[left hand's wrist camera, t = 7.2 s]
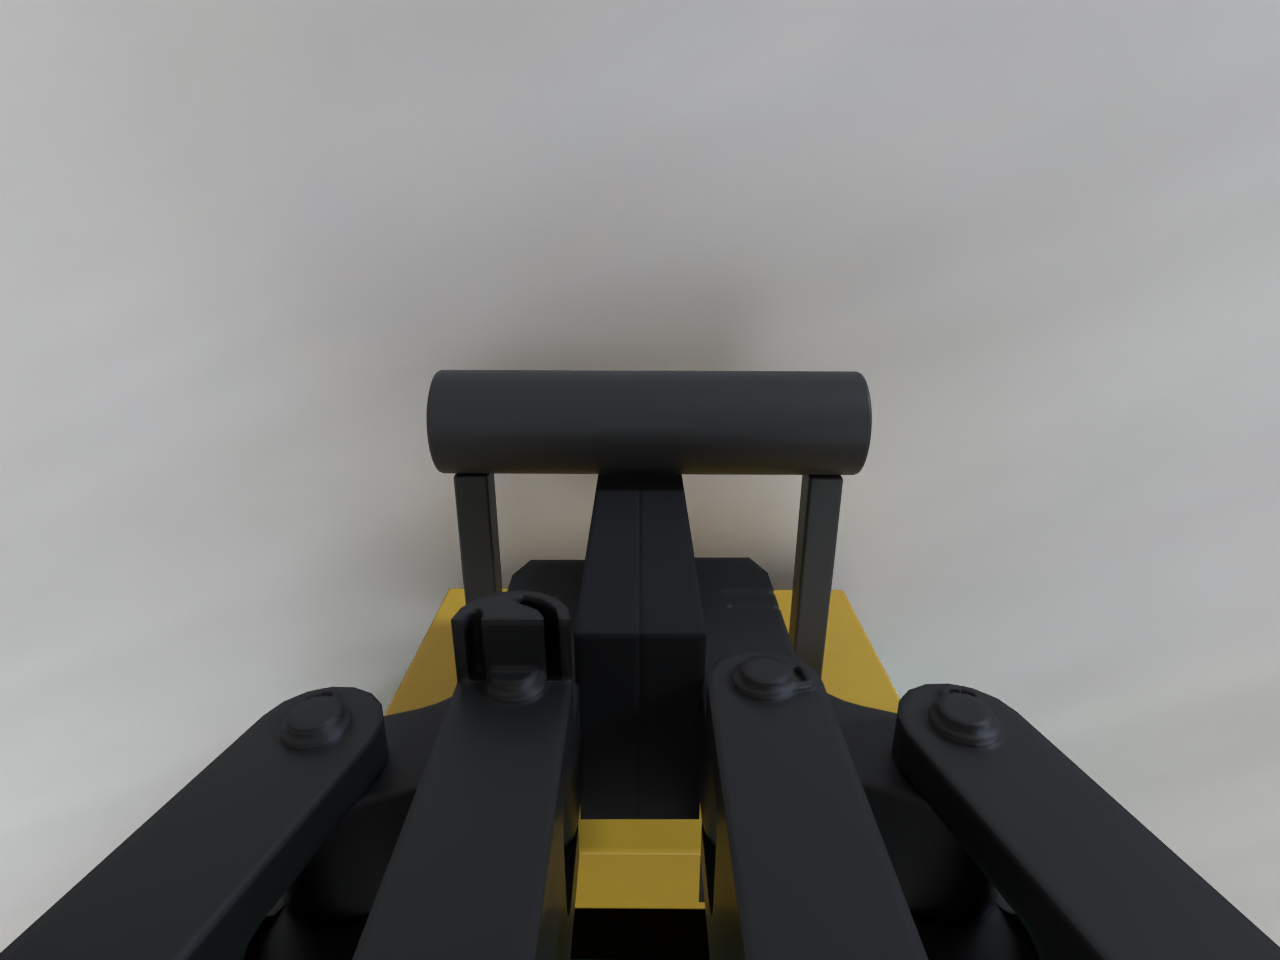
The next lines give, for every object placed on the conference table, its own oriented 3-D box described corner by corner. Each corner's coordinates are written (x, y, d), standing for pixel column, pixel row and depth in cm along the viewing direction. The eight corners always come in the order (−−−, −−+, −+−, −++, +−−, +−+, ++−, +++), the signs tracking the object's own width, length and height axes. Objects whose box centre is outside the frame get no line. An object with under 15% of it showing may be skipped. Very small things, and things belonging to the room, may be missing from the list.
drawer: (422, 334, 16) (230, 445, 8) (872, 336, 16) (1073, 448, 8) (489, 982, 23) (415, 1347, 16) (798, 984, 23) (871, 1352, 15)
